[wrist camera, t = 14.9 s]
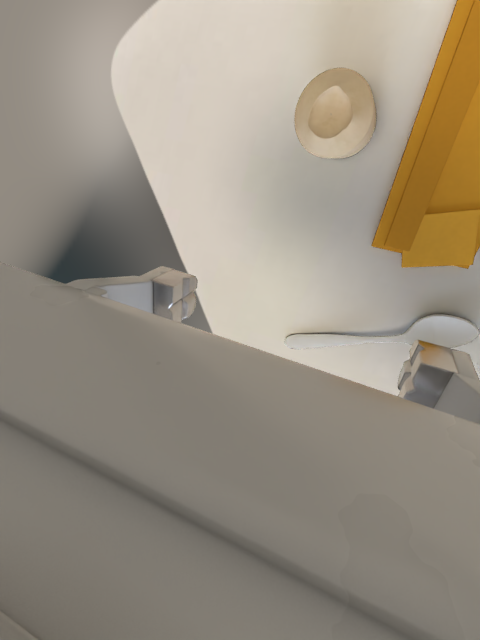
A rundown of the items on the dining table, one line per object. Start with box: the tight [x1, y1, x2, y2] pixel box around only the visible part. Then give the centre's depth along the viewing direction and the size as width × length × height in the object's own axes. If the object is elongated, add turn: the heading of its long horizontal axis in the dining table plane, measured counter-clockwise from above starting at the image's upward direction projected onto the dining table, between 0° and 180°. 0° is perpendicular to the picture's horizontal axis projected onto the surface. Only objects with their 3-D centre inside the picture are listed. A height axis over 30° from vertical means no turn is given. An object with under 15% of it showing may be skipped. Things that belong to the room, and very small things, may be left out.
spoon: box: [284, 315, 480, 349], centre depth 37 cm, size 4×21×2 cm, turn 107°
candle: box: [295, 68, 376, 158], centre depth 26 cm, size 6×6×10 cm
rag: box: [372, 0, 480, 269], centre depth 28 cm, size 9×21×1 cm, turn 171°
